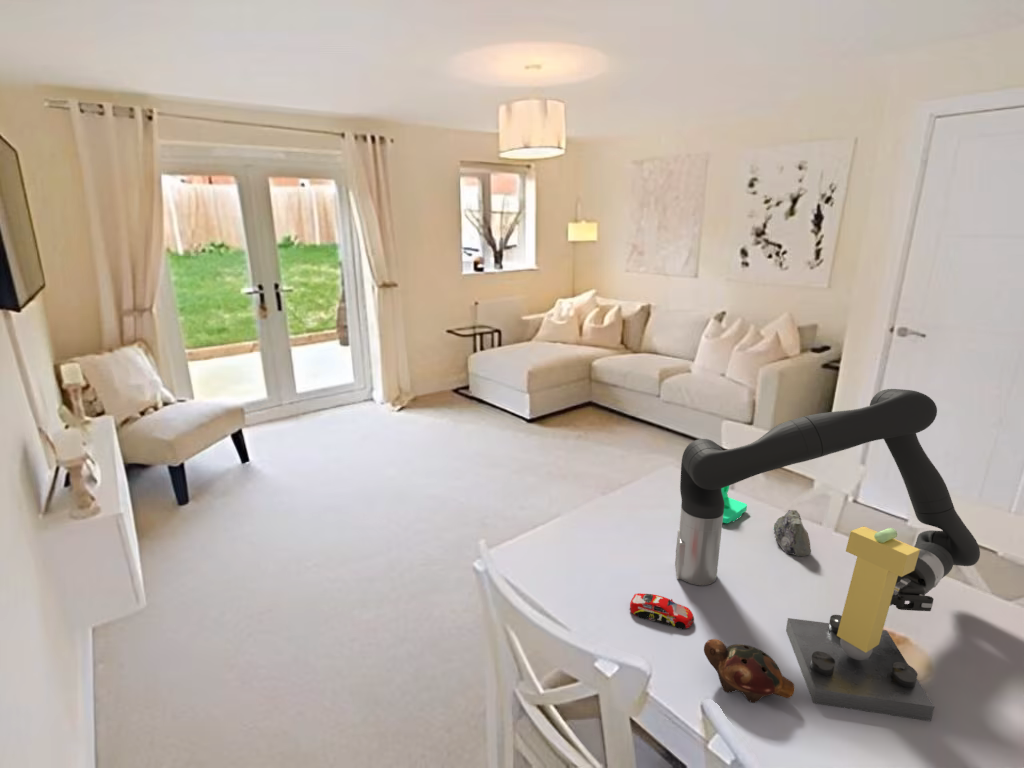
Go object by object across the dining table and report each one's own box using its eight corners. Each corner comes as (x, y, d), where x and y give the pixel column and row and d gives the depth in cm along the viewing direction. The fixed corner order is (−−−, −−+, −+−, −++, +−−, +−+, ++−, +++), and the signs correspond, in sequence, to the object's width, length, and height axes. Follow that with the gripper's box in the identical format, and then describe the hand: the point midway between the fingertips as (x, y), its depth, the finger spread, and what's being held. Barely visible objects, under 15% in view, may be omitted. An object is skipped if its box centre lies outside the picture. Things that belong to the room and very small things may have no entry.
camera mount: (726, 527, 149) (730, 493, 147) (701, 517, 155) (704, 484, 152) (747, 512, 157) (751, 480, 154) (722, 503, 163) (726, 471, 160)
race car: (695, 617, 116) (696, 601, 114) (691, 634, 111) (693, 617, 110) (633, 600, 121) (634, 585, 120) (627, 615, 116) (628, 599, 115)
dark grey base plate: (813, 702, 94) (817, 679, 93) (785, 629, 112) (788, 608, 110) (930, 721, 91) (937, 697, 89) (883, 642, 108) (888, 621, 106)
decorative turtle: (700, 657, 105) (707, 622, 103) (786, 685, 99) (795, 648, 97) (696, 693, 96) (704, 656, 94) (791, 727, 90) (801, 687, 88)
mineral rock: (777, 525, 150) (782, 493, 147) (820, 539, 143) (826, 505, 140) (761, 545, 141) (766, 511, 138) (807, 561, 134) (813, 525, 131)
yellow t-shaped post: (873, 677, 95) (910, 545, 90) (821, 645, 102) (853, 521, 97) (886, 668, 98) (922, 539, 92) (834, 638, 105) (866, 517, 100)
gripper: (880, 541, 113) (838, 568, 104) (958, 573, 102) (918, 606, 93) (874, 572, 115) (832, 602, 106) (949, 607, 104) (909, 643, 95)
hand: (872, 604), depth 99 cm, fingers closed
